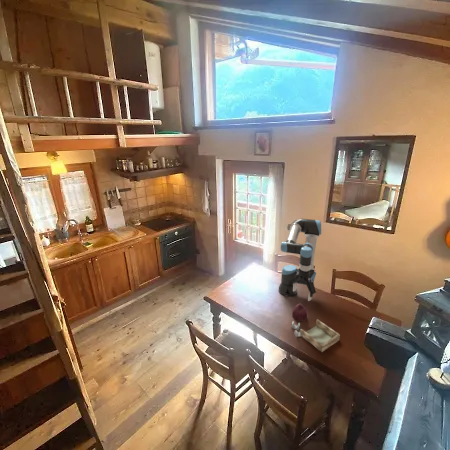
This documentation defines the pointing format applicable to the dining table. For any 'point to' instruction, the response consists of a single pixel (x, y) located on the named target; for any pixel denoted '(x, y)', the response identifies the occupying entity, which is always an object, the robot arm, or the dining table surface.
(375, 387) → the dining table surface
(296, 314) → the vegetable
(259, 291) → the dining table surface
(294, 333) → the clip
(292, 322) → the clip
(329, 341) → the tray
